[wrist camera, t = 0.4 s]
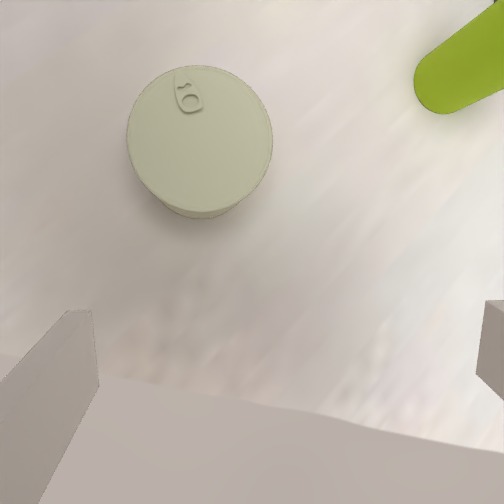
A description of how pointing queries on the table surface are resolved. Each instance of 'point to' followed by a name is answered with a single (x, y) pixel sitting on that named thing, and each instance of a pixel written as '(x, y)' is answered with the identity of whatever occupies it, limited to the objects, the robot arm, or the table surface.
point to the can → (199, 140)
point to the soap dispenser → (464, 65)
